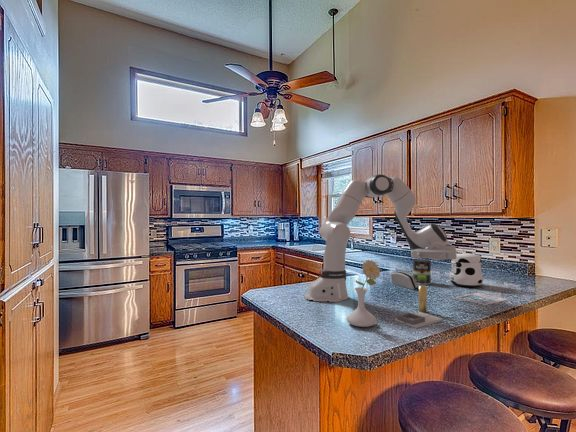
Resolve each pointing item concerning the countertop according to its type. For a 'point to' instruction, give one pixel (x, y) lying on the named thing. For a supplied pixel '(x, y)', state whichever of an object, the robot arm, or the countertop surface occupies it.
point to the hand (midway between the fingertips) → (429, 256)
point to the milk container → (466, 270)
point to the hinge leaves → (417, 319)
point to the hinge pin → (423, 299)
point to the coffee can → (422, 271)
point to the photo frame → (484, 297)
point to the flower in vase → (361, 314)
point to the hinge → (404, 280)
